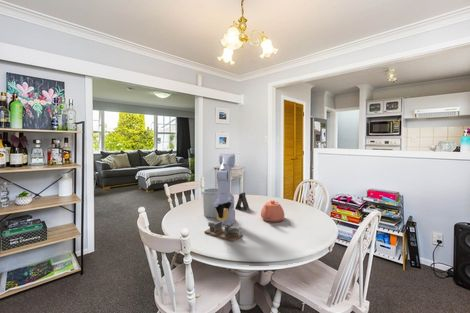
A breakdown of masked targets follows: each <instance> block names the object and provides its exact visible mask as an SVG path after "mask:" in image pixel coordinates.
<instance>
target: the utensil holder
mask: <svg viewBox="0 0 470 313" xmlns="http://www.w3.org/2000/svg"><path fill="white" fill-rule="evenodd" d="M202 198H203V200H202V202H203V203H202V204H203V215H204V217H207V218H217V210H216V208H215V207H214V206H213V203H215V202H216V201H217V199H218V187H207V188H203V189H202Z"/></svg>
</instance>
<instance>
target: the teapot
mask: <svg viewBox="0 0 470 313" xmlns="http://www.w3.org/2000/svg"><path fill="white" fill-rule="evenodd" d="M260 217H261V218H262V219H263V221H266V222H272V223H278V222H281V221H283V219H284V218H285V211H284V209H283V207H282V205H281V204H280V203H279V202H278V201H275V200H273V199H272V200H270V201H267V202H265V203H264V205H263V207H262V208H261V211H260Z"/></svg>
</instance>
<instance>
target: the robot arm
mask: <svg viewBox="0 0 470 313" xmlns="http://www.w3.org/2000/svg"><path fill="white" fill-rule="evenodd" d="M218 158H219V160H218V161H219V168H218V171H217V172H216V183H217V188H218V199H217V201H216V202H215V203H213V206H214V207H215V208H216V210H217V212H218V216H219V218H223V210H224V208H228V219H227V220H225V221H222V225H224V226H228V225H230V224H233V223H235V222H236V221H237V220H236V209H235V196H234V194H232V193H231V178H232V177H231V176H232V175H231V174H232V172H231V171H232V169H233V168H234V167H235V165H236V164H235V163H236V154H235V153H220V154H219V157H218ZM220 221H221V220H218V222H220Z"/></svg>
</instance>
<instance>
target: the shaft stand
mask: <svg viewBox="0 0 470 313" xmlns="http://www.w3.org/2000/svg"><path fill="white" fill-rule="evenodd" d="M219 221H220V222H219ZM219 221H218V222H216V221H212V220H209V221H208V222H207V224H208V225H207V226H208V227H209V228H208V229H205V230H203V231H204V234H206V235H208V236H211V237H215V238H218V239H220V240H221V239H222V240H225V241H227V242H230V243H234V242H236V241H238V240H240V239H241V238H242V237H243V236H244V235H243V233H240V232H241V227H240V226H233V223H231V224H229V225H225V226H224V228H223V224H222V221H221V220H219Z"/></svg>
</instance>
